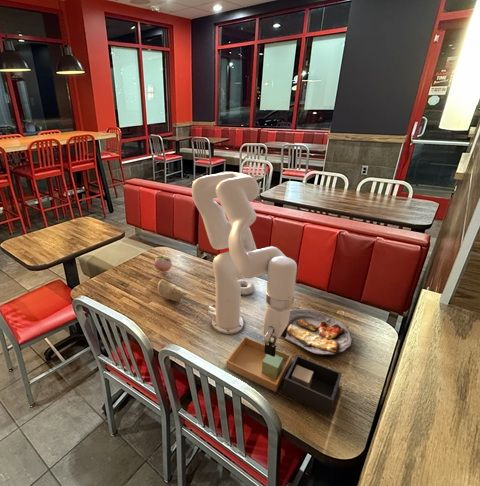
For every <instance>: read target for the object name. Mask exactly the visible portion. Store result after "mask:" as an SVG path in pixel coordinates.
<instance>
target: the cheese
mask: <svg viewBox="0 0 480 486" xmlns="http://www.w3.org/2000/svg"><path fill="white" fill-rule="evenodd" d="M157 291H158V293H159V294H160V295H161V296H162V297H164V298H165V300H167V301H168V300H171V301H173V302H179V301H180V299H181V298H182V297H183V296H188V292H187V291H185V290H183V289H182V288H181V287H179V286H177V285H175V284H174V283H172V282H169V281H167V280H165V279H163V278H161V279H160V280H159V281H158V283H157Z"/></svg>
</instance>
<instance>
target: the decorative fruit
mask: <svg viewBox="0 0 480 486" xmlns="http://www.w3.org/2000/svg"><path fill="white" fill-rule="evenodd" d="M154 258H155V259H154V262H153V265H154V267H155V269H156V270H157V271H160V272H162V273H165V272H168V271H170V269H171V268H172V264H173V262H172V259H171V258H170V257H169V256H168V255H164V254H161V255H155V257H154Z"/></svg>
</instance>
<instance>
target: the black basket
mask: <svg viewBox="0 0 480 486" xmlns="http://www.w3.org/2000/svg"><path fill="white" fill-rule="evenodd" d="M297 365H299V366H301V367H303V368H306V369H308V370H310V371H313V377H312V383H311V385H310V388H308V387H305V386H303V385H301V384H299V383H297V382H294V381H292V380H291V377H292V374H293V372H294V370H295V368H296V366H297ZM342 374H343V373H342V372H340V371H337V370H335V369H333V368H331V367H328V366H325V365H322V364H321V363H318V362H316V361H313V360H311V359H309V358H305V357H303V356H300V355H298V354H296V356H295V357H294V360H293V362H292V363H291V365H290V367H289V369H288V371H287V374H286V375H285V378H284V383H283V390H282V394H284V395H286V396H288V397H289V398H292V399H294V400H297V401H299V402H301V403H302V404H305V405H307V406H308V407H310V408H313V409H315V410H317V411H319V412H321V413H323V414H326V415H327V416H329V417H330V416H331V413H332V410H333V406H334V403H335V400H336V396H337V393H338V390H339V386H340V382H341V378H342Z"/></svg>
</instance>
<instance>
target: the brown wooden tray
mask: <svg viewBox="0 0 480 486" xmlns="http://www.w3.org/2000/svg"><path fill="white" fill-rule="evenodd" d="M264 350H265V343H261V342H260V341H257V340H255V339H252V338H249V337H247V336H244V337H243V338H242V340H241V341H240V342H239V344H238V345H237V346H236V347H235V349H234V351H233V352H232V353H231V354H230V355H229V357H228V358H227V360H226V363H225V367H226V369H228V370H229V371H231V372H234V373H236V374H238V375H240V376H242V377H243V378H246V379H248V380H250V381H252V382H254V383H256V384H258V385H260V386H262V387H264V388H266V389H269V390H270V391H272V392H274V393H277V391H278V389H279V387H280V385H281V383H282V381H283V379H284V377H285V376H286V373H287V372H288V370H289V368H290V366H291V364H292V358H293V357H292V356H293V355H291V354H289V353H286V352H284V351H282V350H279V349H277V348H276V353H275V355H277V356H280V357H282V358H283V364H282V370H281V372H280V374H279V376H278V377H277V379H274V378H272V377H270V376H268V375H265V374H263V373H262V361H263V360H264V358H265V356H266V355H267V354H265V353H264Z"/></svg>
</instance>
